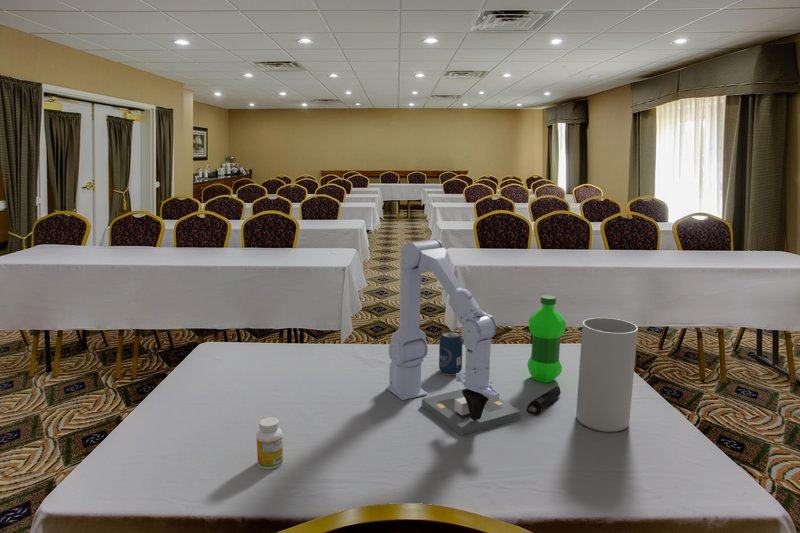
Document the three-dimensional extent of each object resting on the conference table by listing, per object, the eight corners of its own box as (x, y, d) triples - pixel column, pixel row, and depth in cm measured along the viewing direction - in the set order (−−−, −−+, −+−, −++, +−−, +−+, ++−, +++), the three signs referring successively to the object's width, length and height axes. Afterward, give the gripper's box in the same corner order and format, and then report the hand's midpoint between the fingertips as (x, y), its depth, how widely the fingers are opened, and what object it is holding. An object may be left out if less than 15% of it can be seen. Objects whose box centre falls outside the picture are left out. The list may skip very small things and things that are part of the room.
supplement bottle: (260, 457, 125) (258, 416, 123) (284, 456, 125) (283, 415, 123) (256, 470, 119) (253, 428, 117) (282, 469, 120) (280, 427, 118)
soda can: (434, 371, 173) (434, 333, 171) (449, 365, 178) (450, 328, 175) (451, 377, 168) (451, 339, 166) (466, 371, 173) (467, 334, 170)
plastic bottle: (567, 378, 168) (573, 296, 163) (550, 389, 161) (556, 303, 155) (537, 369, 175) (541, 290, 170) (519, 379, 167) (523, 297, 162)
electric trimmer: (564, 398, 156) (564, 387, 155) (538, 417, 144) (538, 405, 144) (551, 394, 158) (551, 383, 158) (524, 412, 147) (525, 401, 146)
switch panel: (421, 405, 150) (421, 398, 149) (476, 392, 158) (477, 385, 158) (461, 435, 134) (461, 427, 134) (520, 418, 143) (520, 410, 143)
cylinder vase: (590, 435, 135) (598, 334, 130) (567, 411, 147) (573, 318, 142) (639, 431, 137) (648, 332, 132) (612, 408, 149) (620, 316, 144)
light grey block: (454, 410, 142) (455, 399, 141) (466, 407, 143) (466, 396, 143) (461, 415, 139) (462, 404, 139) (473, 412, 141) (474, 400, 140)
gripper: (510, 372, 130) (508, 427, 133) (472, 353, 143) (471, 403, 145) (486, 378, 127) (484, 434, 130) (449, 357, 139) (448, 409, 142)
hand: (475, 418), depth 137 cm, fingers closed
